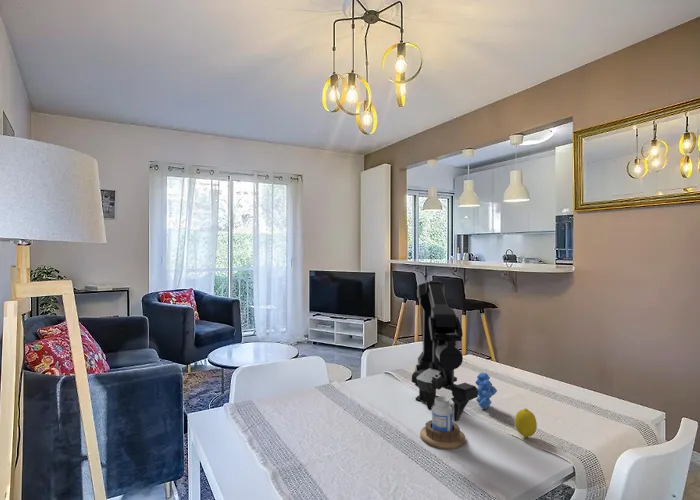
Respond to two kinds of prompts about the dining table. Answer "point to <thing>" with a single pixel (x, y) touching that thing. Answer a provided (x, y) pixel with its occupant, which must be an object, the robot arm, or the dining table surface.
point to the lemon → (525, 422)
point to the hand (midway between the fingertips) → (442, 415)
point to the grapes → (484, 390)
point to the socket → (442, 437)
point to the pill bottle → (442, 415)
